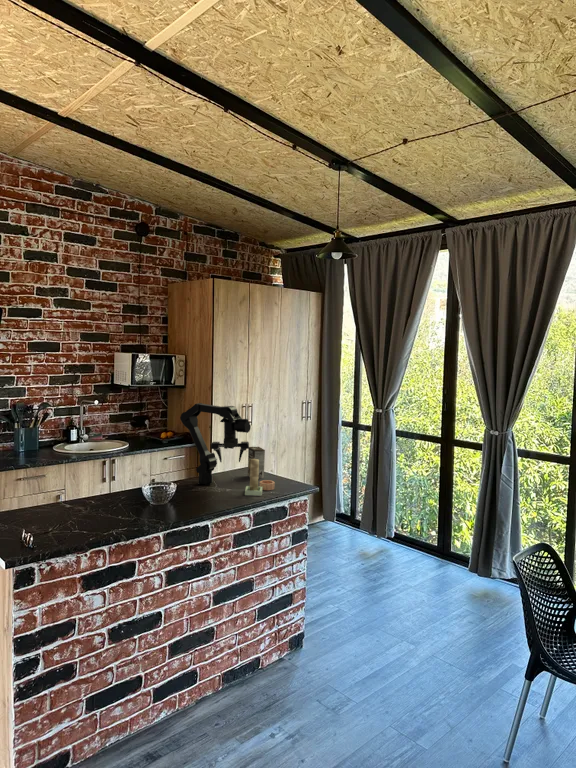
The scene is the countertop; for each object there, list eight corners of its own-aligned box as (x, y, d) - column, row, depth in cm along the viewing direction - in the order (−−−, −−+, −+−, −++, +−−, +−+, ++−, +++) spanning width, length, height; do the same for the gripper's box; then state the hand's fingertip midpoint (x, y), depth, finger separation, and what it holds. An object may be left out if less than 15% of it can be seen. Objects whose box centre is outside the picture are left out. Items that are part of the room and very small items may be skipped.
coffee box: (247, 475, 294) (248, 446, 293) (258, 474, 297) (258, 446, 296) (253, 479, 286) (254, 450, 285) (264, 479, 289) (265, 449, 287)
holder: (259, 490, 266) (259, 483, 265) (259, 486, 273) (260, 479, 273) (274, 491, 266) (274, 484, 265) (274, 487, 273) (274, 480, 273)
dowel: (248, 492, 259) (249, 460, 258) (251, 490, 263) (252, 458, 261) (255, 493, 257) (256, 461, 256) (259, 491, 261) (260, 459, 260)
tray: (244, 496, 256) (245, 490, 256) (246, 491, 264) (246, 486, 264) (261, 496, 256) (261, 491, 256) (262, 491, 264) (262, 486, 264)
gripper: (209, 434, 259) (209, 465, 260) (247, 433, 259) (248, 465, 260) (211, 430, 270) (212, 461, 271) (249, 430, 271) (249, 460, 272)
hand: (230, 462), depth 268 cm, fingers open, 9 cm apart
